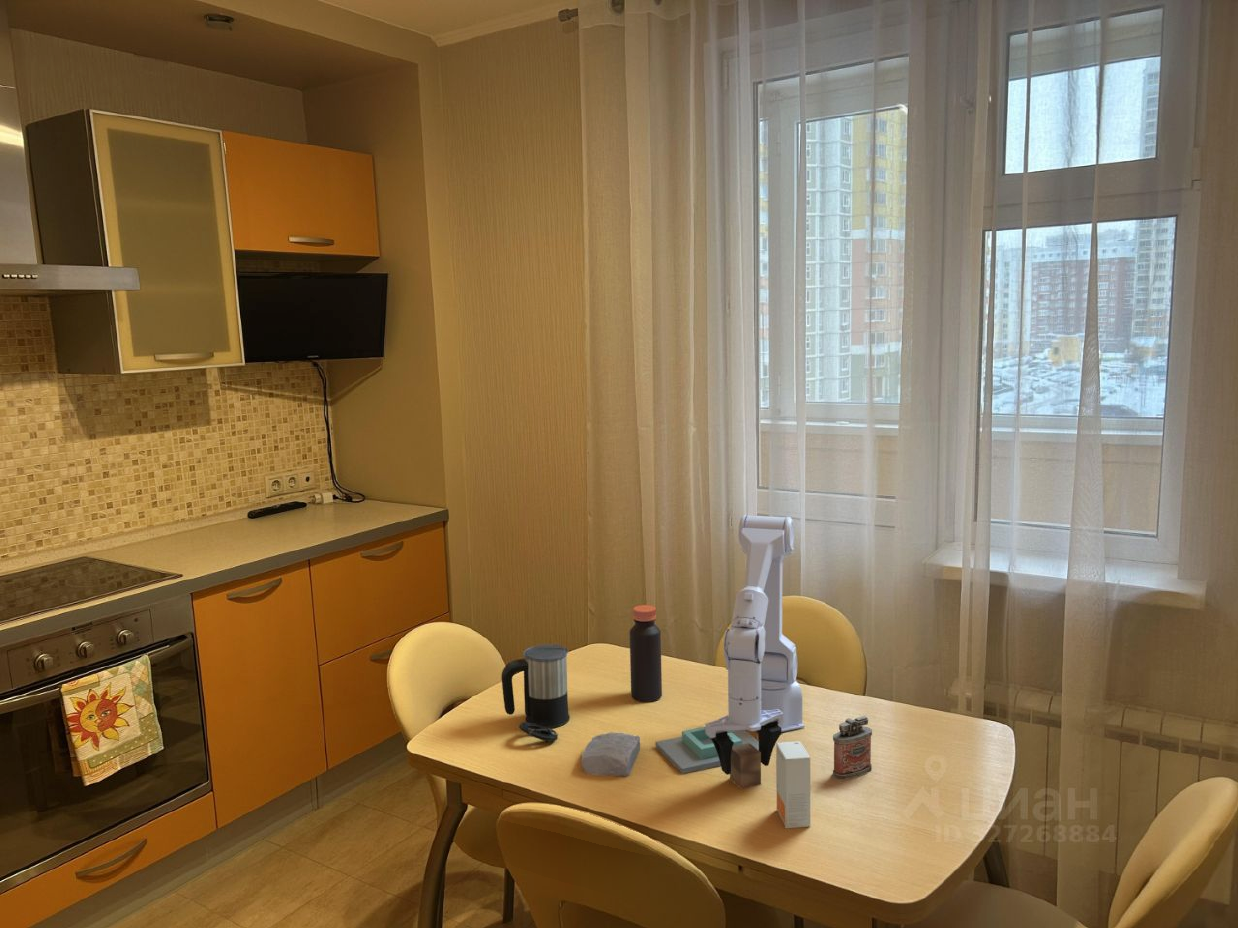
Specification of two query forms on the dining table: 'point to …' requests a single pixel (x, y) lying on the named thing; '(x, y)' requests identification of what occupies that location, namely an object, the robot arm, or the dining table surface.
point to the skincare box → (793, 784)
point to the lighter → (852, 749)
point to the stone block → (611, 754)
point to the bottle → (645, 655)
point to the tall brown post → (745, 766)
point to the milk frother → (540, 690)
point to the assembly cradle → (698, 749)
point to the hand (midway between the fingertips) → (745, 767)
